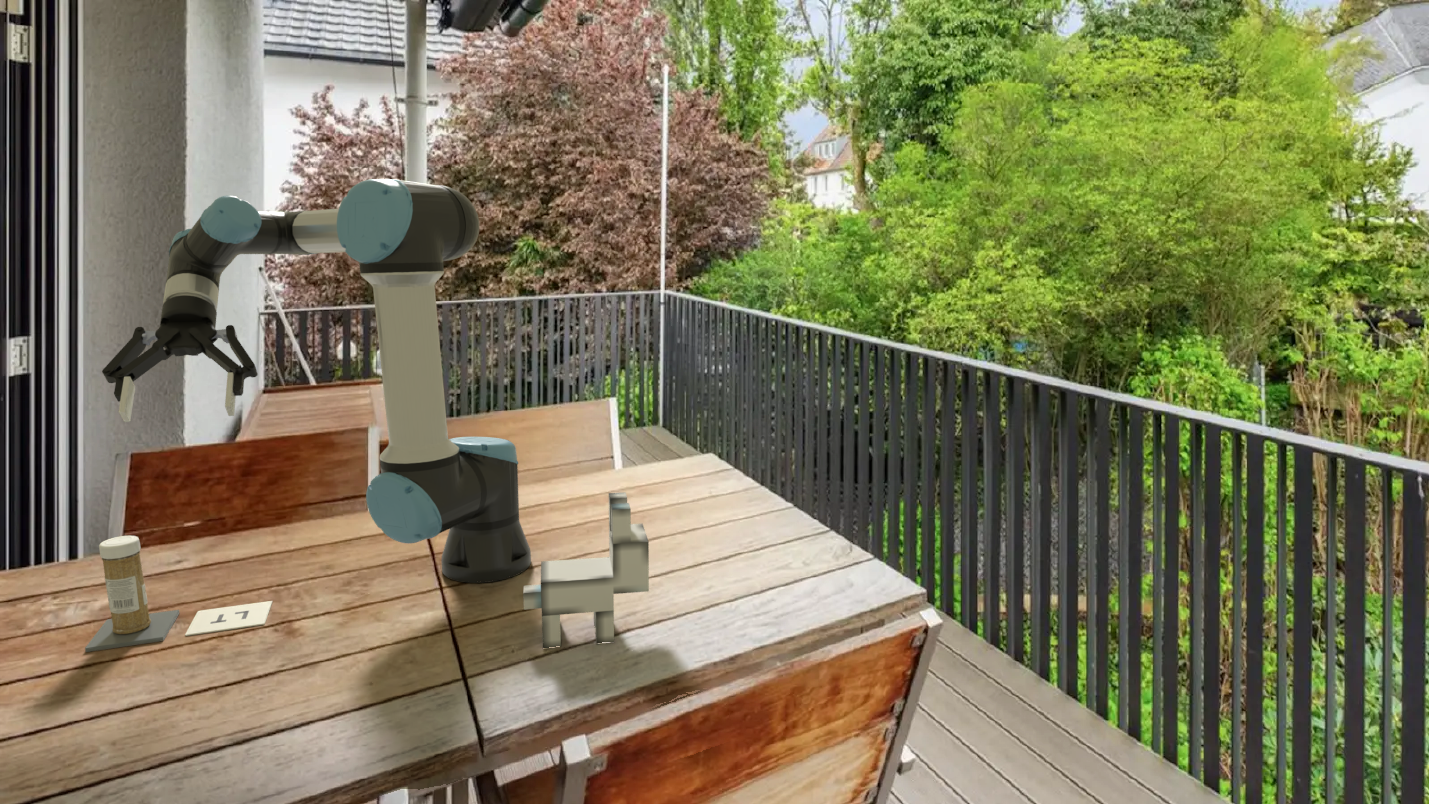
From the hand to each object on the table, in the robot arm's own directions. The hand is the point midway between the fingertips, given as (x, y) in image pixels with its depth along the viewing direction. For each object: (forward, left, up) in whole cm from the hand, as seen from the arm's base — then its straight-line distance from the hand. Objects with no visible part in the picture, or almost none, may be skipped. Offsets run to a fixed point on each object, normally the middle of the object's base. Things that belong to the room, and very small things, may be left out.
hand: (178, 414), depth 118 cm
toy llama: (-55, +34, -30) cm, 71 cm away
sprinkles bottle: (+6, +11, -29) cm, 32 cm away
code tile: (-6, +11, -30) cm, 32 cm away
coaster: (+6, +11, -30) cm, 32 cm away
